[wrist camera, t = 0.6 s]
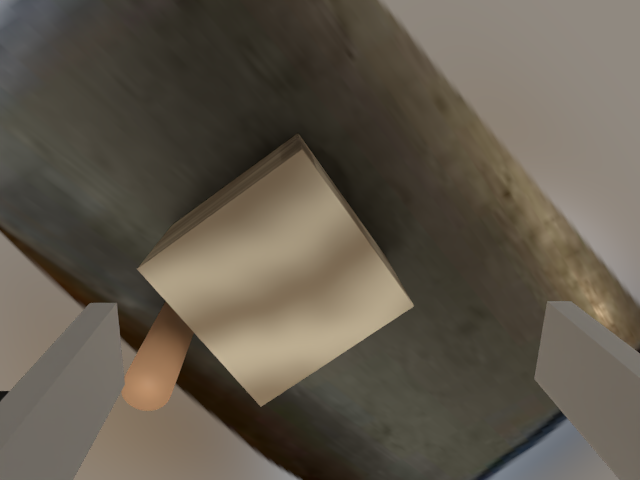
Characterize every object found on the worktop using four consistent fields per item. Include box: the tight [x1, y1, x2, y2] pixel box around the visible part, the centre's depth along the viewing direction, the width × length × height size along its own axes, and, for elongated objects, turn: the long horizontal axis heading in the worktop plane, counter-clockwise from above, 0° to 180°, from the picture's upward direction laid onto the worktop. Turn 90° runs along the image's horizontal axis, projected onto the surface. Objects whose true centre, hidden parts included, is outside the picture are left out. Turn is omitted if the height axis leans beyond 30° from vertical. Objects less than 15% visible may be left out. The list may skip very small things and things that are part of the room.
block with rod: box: [121, 302, 194, 411], centre depth 35 cm, size 6×15×11 cm, turn 125°
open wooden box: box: [137, 133, 414, 406], centre depth 35 cm, size 12×12×10 cm
